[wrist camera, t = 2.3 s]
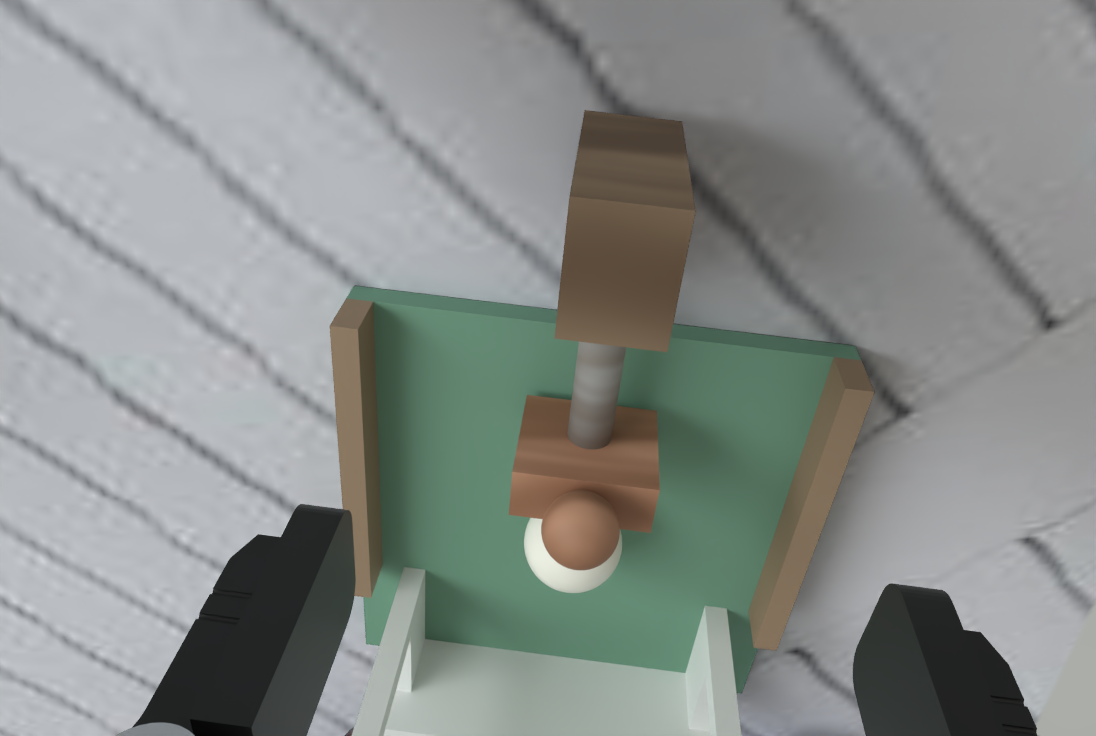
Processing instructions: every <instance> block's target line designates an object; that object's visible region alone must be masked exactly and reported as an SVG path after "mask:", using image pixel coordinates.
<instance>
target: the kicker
mask: <svg viewBox="0 0 1096 736" xmlns="http://www.w3.org/2000/svg"><path fill="white" fill-rule="evenodd" d="M695 212H696V210H695V203H694V197H693V190H692V184H691V177H690V171H689V164H688V158H687V151H686V145H685V138H684V132H683V125H682V121H674V120H665V119H656V118H648V117H639V116H630V115H621V114H612V113H604V112H595V111H586V110H585V112H584V118H583V124H582V129H581V135H580V141H579V146H578V152H577V158H576V163H575V169H574V175H573V180H572V186H571V192H570V198H569V207H568V217H567V226H566V235H565V245H564V254H563V263H562V273H561V282H560V291H559V301H558V310H557V319H556V328H555V338H554V339H561V340H570V341H578V342H579V345H578V353H577V361H576V368H575V376H574V384H573V392H572V400H565V399H557V398H549V397H541V396H532V395H527V397H526V402H525V407H524V412H523V418H522V423H521V428H520V434H519V439H518V444H517V449H516V455H515V460H514V465H513V470H512V481H511V493H510V505H509V515H513V516H521V517H529V518H537V519H543V520H542V525H541V535H542V540H543V543H544V546H545V548H546V550H547V552H548V553H549V555H550V556H551V557H552V558H553V559H554V560H555V561H556V562H557V563H559V564H560V565H562V566H564V567H566V568H569V569H572V570H589V569H593V568H595V567H598V566H600V565H601V564H603V563H604V562H605V561H607V560H608V559H609V558H610V557H611V555H612V554H613V553H614V551H615V549H616V547H617V544H618V541H619V536H620V529H624V530H632V531H639V532H647V533H651V528H652V524H653V519H654V515H655V510H656V505H657V501H658V496H659V492H660V483H659V455H658V427H657V411H655V410H646V409H638V408H630V407H622V406H617V401H618V395H619V389H620V383H621V377H622V371H623V365H624V359H625V353H626V347H627V348H636V349H644V350H652V351H661V352H668V347H669V342H670V337H671V332H672V327H673V322H674V317H675V312H676V307H677V302H678V297H679V292H680V287H681V282H682V277H683V272H684V267H685V262H686V257H687V252H688V247H689V242H690V237H691V232H692V227H693V222H694V217H695Z"/></svg>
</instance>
